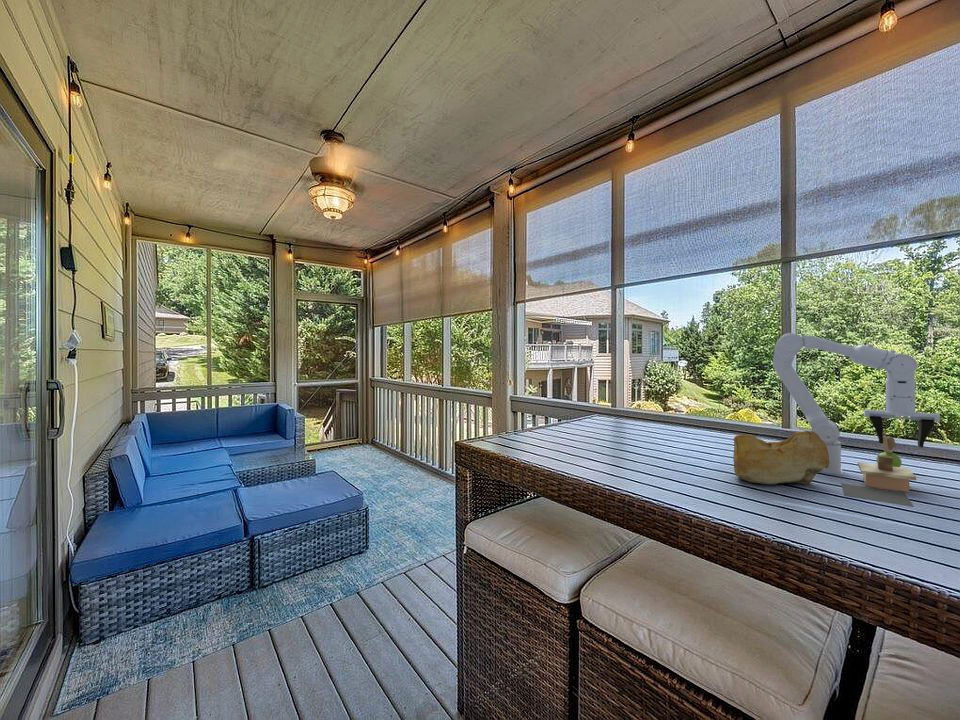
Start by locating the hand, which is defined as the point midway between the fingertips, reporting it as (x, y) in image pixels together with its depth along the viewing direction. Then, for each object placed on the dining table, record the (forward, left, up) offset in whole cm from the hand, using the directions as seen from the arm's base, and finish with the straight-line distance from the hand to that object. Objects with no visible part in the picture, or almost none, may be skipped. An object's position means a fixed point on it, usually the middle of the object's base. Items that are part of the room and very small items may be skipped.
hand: (900, 444), depth 111 cm
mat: (-7, -20, -10) cm, 24 cm away
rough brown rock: (-28, -19, -11) cm, 35 cm away
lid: (-4, -9, -6) cm, 12 cm away
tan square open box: (-4, -9, -10) cm, 14 cm away
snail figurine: (-1, +13, -11) cm, 17 cm away
